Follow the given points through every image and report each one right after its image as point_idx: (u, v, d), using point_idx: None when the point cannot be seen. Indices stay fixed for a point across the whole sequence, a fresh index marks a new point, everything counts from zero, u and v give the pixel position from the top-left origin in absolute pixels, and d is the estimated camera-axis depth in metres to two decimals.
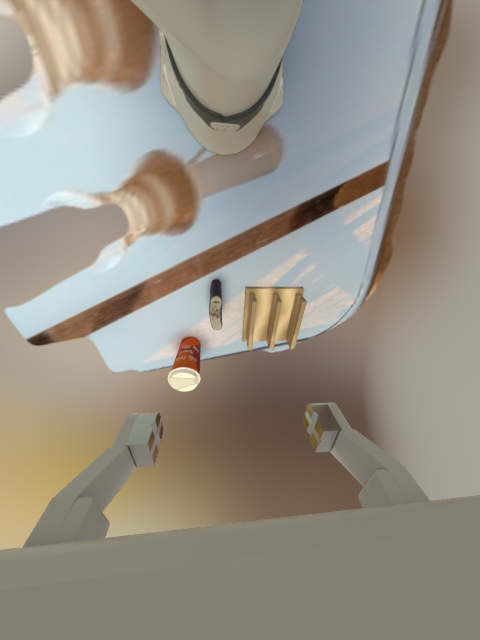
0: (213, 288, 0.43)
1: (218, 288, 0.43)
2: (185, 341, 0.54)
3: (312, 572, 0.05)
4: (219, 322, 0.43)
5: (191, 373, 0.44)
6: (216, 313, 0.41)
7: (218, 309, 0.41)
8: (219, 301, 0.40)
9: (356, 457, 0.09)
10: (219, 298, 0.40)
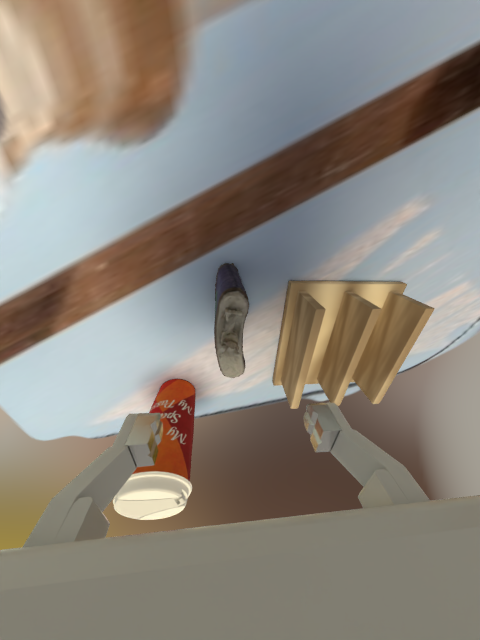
0: (224, 277, 0.18)
1: (236, 277, 0.17)
2: (165, 389, 0.28)
3: (312, 572, 0.05)
4: (239, 360, 0.17)
5: (168, 490, 0.18)
6: (234, 339, 0.15)
7: (238, 328, 0.16)
8: (242, 307, 0.15)
9: (356, 457, 0.09)
10: (243, 298, 0.14)
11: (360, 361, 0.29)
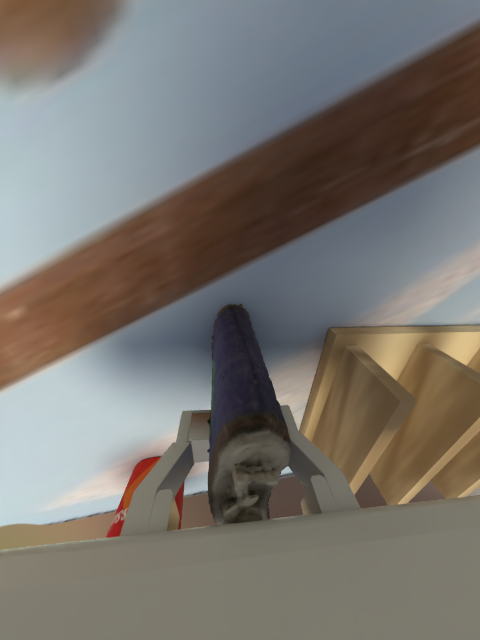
0: (229, 350, 0.09)
1: (253, 350, 0.09)
2: (139, 479, 0.19)
3: (312, 572, 0.05)
4: None
5: None
6: None
7: (263, 487, 0.07)
8: (276, 458, 0.06)
9: (300, 462, 0.08)
10: (280, 443, 0.06)
11: None
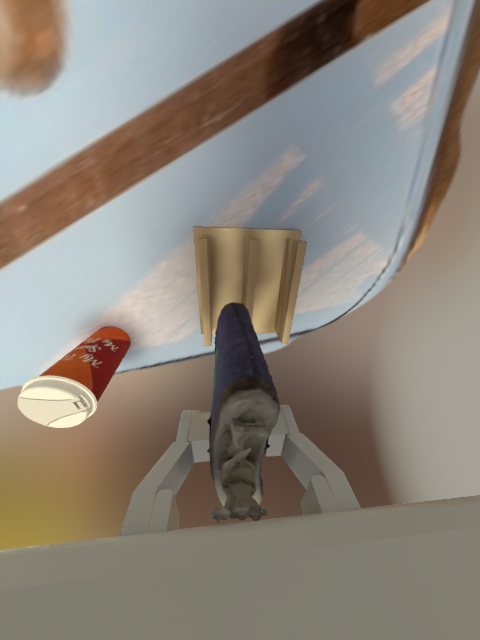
0: (230, 336, 0.10)
1: (251, 336, 0.10)
2: (96, 332, 0.31)
3: (312, 572, 0.05)
4: None
5: (64, 390, 0.21)
6: (248, 477, 0.08)
7: (256, 447, 0.08)
8: (266, 415, 0.07)
9: (300, 462, 0.08)
10: (269, 402, 0.07)
11: (276, 309, 0.32)
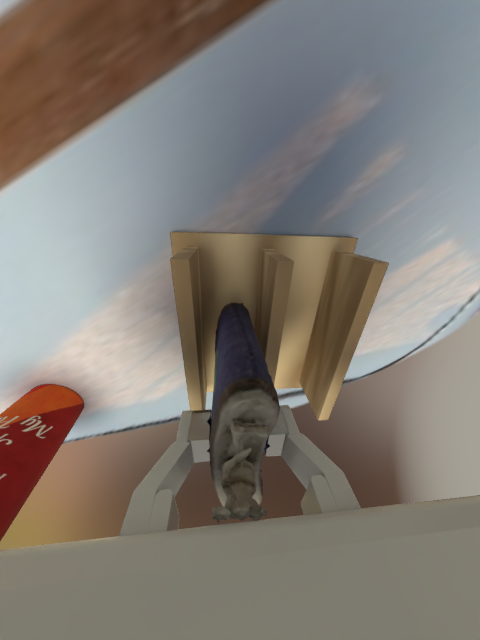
0: (230, 336, 0.10)
1: (251, 337, 0.10)
2: (20, 399, 0.19)
3: (312, 572, 0.05)
4: None
5: None
6: (248, 478, 0.08)
7: (256, 448, 0.08)
8: (266, 416, 0.07)
9: (300, 462, 0.08)
10: (269, 402, 0.07)
11: (306, 358, 0.21)
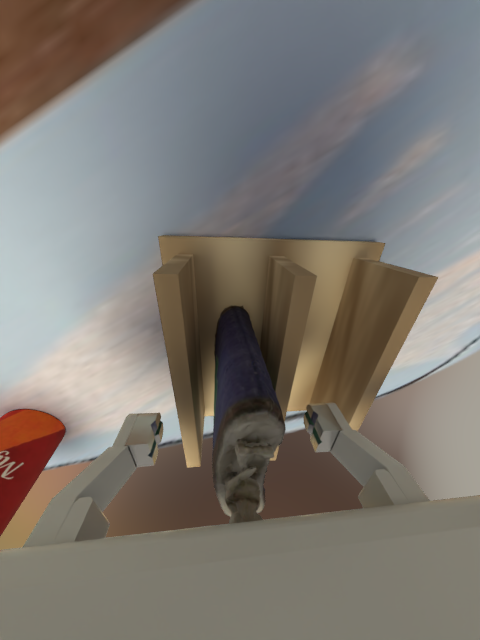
0: (232, 346, 0.10)
1: (253, 347, 0.10)
2: None
3: (312, 572, 0.05)
4: None
5: None
6: (252, 495, 0.07)
7: (260, 463, 0.08)
8: (271, 435, 0.07)
9: (356, 457, 0.09)
10: (275, 422, 0.07)
11: (318, 380, 0.18)
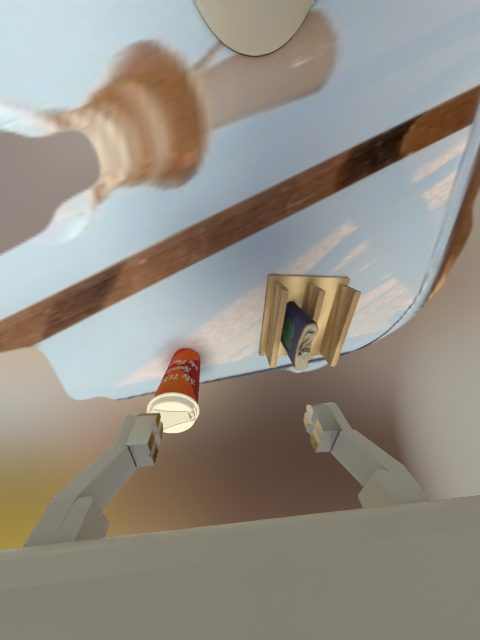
0: (298, 312, 0.31)
1: None
2: (179, 354, 0.37)
3: (312, 572, 0.05)
4: (306, 359, 0.31)
5: (185, 403, 0.27)
6: (309, 347, 0.29)
7: (310, 342, 0.29)
8: (314, 331, 0.28)
9: (356, 457, 0.09)
10: (316, 326, 0.28)
11: (323, 337, 0.40)
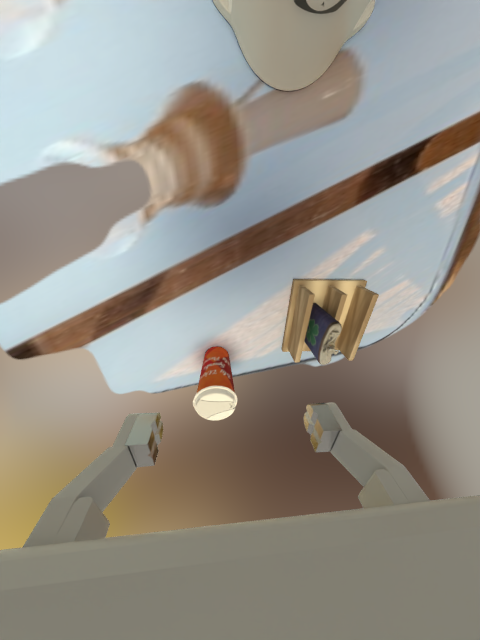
0: (322, 313, 0.35)
1: None
2: (211, 352, 0.42)
3: (312, 572, 0.05)
4: (329, 355, 0.35)
5: (227, 395, 0.32)
6: (333, 345, 0.33)
7: (334, 339, 0.33)
8: (338, 330, 0.32)
9: (356, 457, 0.09)
10: (340, 326, 0.32)
11: (341, 334, 0.44)
